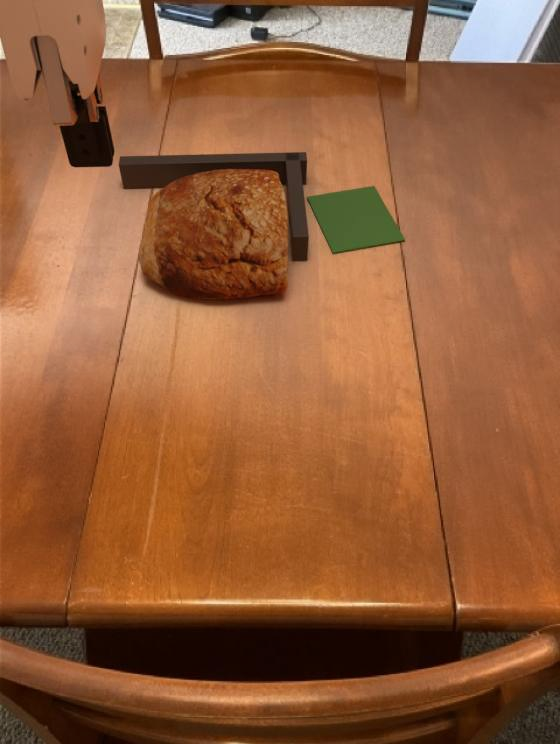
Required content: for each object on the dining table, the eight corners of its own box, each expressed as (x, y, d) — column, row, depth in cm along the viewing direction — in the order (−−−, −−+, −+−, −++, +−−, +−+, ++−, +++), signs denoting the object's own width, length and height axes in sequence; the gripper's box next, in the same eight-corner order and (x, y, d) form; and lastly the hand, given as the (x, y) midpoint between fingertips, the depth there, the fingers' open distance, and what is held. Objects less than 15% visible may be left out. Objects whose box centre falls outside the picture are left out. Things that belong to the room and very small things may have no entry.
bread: (288, 304, 82) (290, 240, 75) (137, 308, 82) (123, 244, 74) (281, 199, 95) (282, 135, 87) (150, 201, 95) (139, 137, 87)
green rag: (332, 254, 88) (332, 252, 88) (306, 198, 95) (306, 196, 95) (404, 241, 90) (405, 239, 89) (374, 187, 97) (374, 185, 97)
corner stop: (111, 266, 86) (105, 242, 83) (124, 180, 98) (119, 156, 94) (315, 260, 87) (316, 236, 84) (305, 176, 98) (306, 151, 95)
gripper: (-15, -168, 42) (58, 108, 56) (-83, -78, 32) (25, 225, 47) (108, -168, 42) (149, 107, 56) (75, -79, 33) (135, 223, 47)
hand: (93, 160), depth 52 cm, fingers closed
